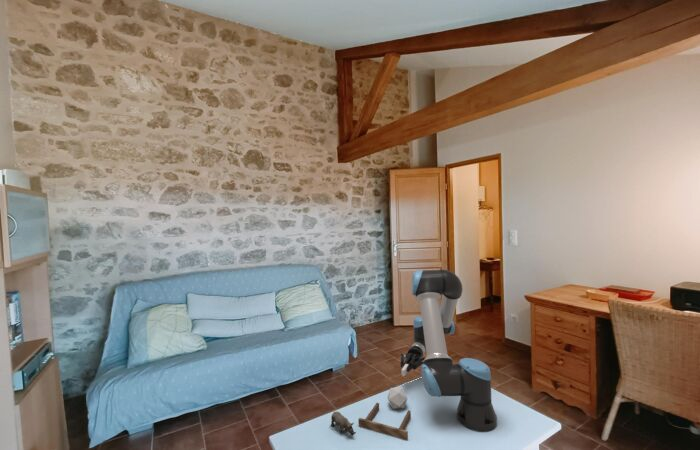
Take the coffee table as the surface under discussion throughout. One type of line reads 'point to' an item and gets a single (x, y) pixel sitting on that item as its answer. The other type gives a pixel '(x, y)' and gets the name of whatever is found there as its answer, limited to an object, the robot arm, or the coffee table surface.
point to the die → (397, 398)
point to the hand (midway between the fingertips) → (403, 373)
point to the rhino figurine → (342, 423)
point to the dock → (383, 428)
